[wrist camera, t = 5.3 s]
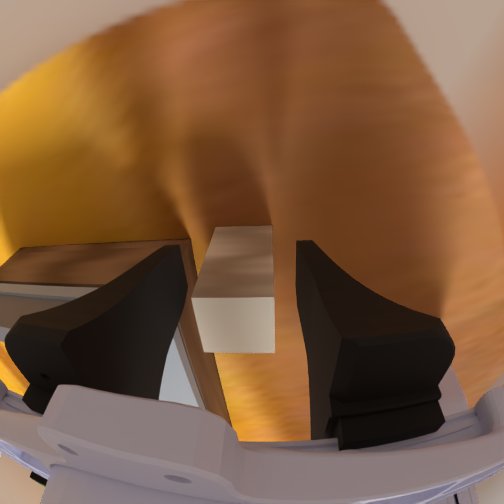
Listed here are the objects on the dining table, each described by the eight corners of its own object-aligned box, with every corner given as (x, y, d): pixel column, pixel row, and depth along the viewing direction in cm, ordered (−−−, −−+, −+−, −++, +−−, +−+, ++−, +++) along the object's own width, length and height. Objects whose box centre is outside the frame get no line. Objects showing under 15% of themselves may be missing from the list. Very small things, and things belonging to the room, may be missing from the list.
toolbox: (190, 238, 16) (169, 284, 12) (232, 428, 27) (229, 463, 23) (20, 247, 17) (-14, 279, 13) (114, 413, 28) (104, 443, 24)
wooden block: (272, 225, 16) (274, 297, 10) (273, 273, 17) (274, 352, 12) (215, 226, 16) (191, 297, 11) (221, 274, 17) (204, 352, 12)
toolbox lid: (167, 288, 12) (142, 345, 9) (228, 466, 23) (226, 495, 20) (-16, 282, 13) (-44, 312, 10) (103, 445, 24) (95, 469, 21)
